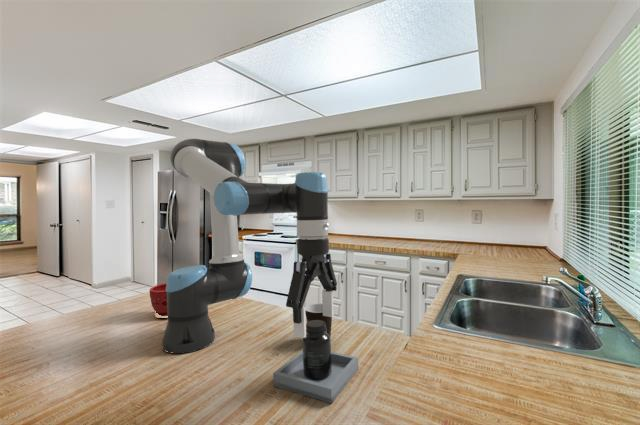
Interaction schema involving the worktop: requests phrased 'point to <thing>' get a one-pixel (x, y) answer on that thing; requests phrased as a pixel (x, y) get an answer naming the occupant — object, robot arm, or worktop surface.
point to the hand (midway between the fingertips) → (315, 325)
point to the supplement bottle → (316, 351)
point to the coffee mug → (318, 315)
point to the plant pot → (160, 303)
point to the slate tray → (324, 389)
